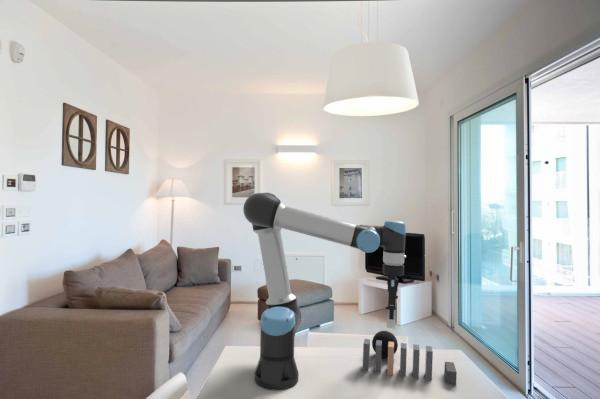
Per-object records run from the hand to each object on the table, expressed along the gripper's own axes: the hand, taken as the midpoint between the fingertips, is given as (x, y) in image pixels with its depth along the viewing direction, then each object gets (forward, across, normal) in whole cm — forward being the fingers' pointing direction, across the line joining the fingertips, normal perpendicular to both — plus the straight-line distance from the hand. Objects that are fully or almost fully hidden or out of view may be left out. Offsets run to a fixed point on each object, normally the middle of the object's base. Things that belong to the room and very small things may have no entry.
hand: (391, 321), depth 144 cm
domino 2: (+18, 0, +4) cm, 19 cm away
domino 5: (+18, 0, -9) cm, 20 cm away
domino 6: (+18, 0, -14) cm, 23 cm away
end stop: (+18, 0, -21) cm, 28 cm away
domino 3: (+18, 0, 0) cm, 18 cm away
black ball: (+18, +13, +2) cm, 23 cm away
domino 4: (+18, 0, -5) cm, 19 cm away
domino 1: (+18, 0, +8) cm, 20 cm away
